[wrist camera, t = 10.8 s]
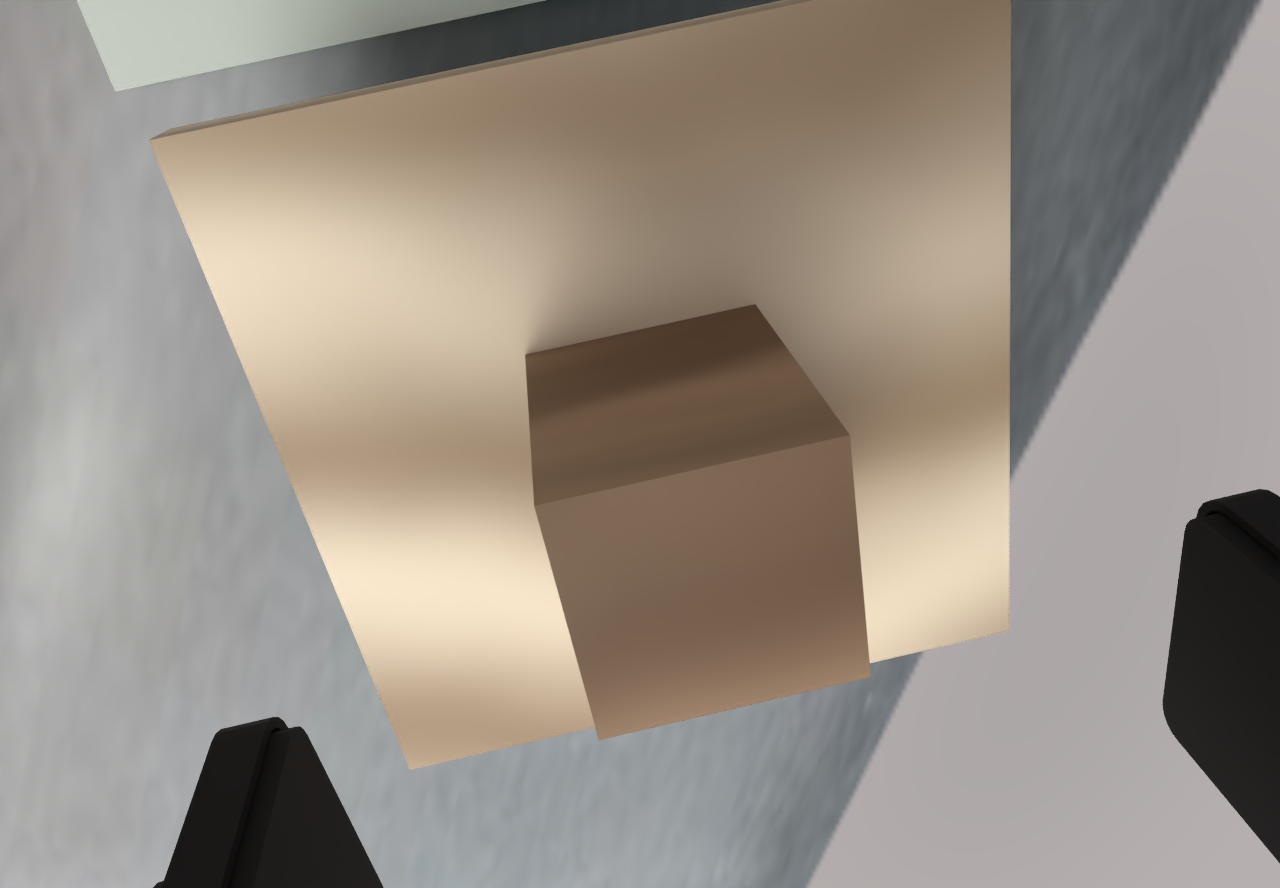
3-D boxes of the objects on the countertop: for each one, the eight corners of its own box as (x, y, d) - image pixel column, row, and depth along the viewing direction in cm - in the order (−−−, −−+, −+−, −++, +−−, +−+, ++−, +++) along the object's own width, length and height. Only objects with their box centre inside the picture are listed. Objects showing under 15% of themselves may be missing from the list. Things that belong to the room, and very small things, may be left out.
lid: (169, 128, 15) (-14, 227, 10) (981, -42, 15) (1238, -39, 10) (413, 735, 21) (384, 1000, 16) (987, 602, 21) (1148, 817, 16)
